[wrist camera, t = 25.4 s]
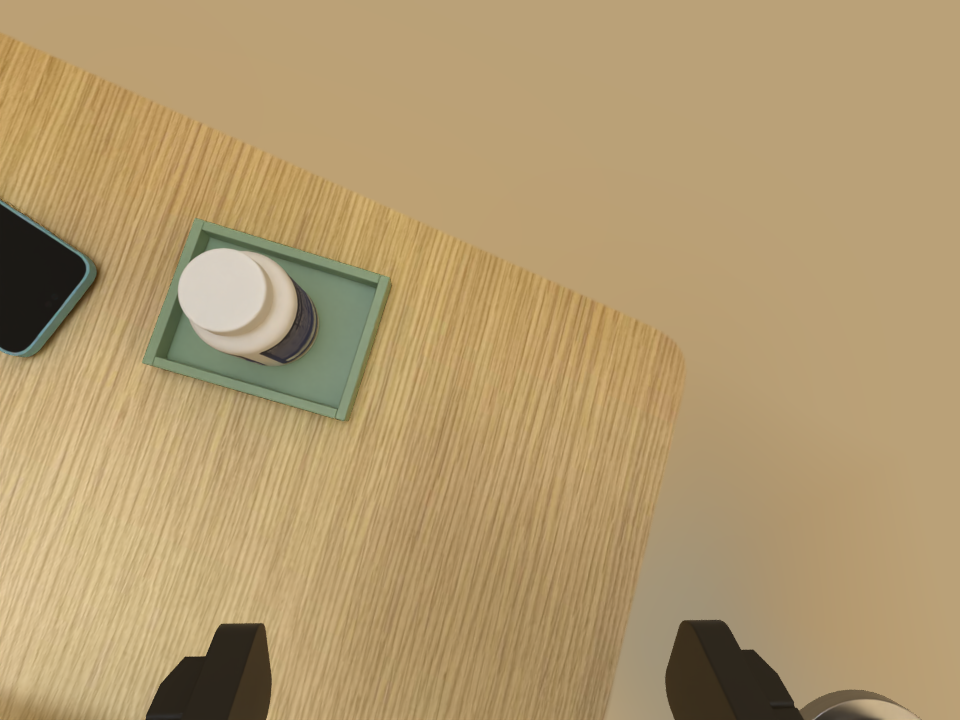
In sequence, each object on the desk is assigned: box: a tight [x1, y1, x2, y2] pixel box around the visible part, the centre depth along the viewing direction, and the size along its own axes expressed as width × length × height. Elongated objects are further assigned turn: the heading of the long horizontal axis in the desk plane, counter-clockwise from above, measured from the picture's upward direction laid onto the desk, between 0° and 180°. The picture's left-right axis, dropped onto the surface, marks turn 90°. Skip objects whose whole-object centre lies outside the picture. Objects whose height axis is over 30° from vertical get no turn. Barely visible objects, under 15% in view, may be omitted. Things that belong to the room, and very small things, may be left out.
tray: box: [142, 218, 392, 421], centre depth 36 cm, size 12×9×2 cm
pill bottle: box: [178, 248, 319, 366], centre depth 32 cm, size 5×5×10 cm
